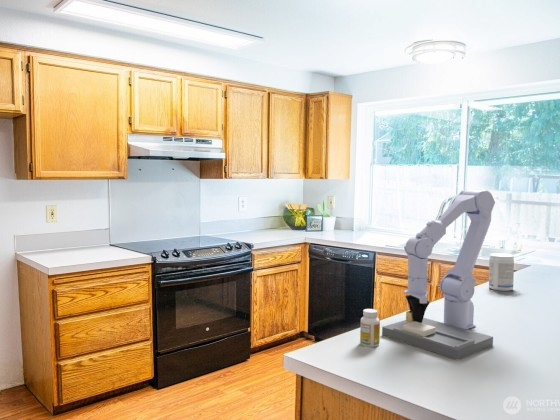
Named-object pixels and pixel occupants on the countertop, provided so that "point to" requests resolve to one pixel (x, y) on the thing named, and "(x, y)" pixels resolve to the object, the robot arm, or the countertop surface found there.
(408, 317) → the gold metal block
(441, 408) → the countertop surface
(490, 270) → the supplement tub
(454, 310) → the robot arm
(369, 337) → the supplement bottle
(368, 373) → the countertop surface
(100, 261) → the countertop surface
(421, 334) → the cover
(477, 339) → the grey slotted tray
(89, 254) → the countertop surface
